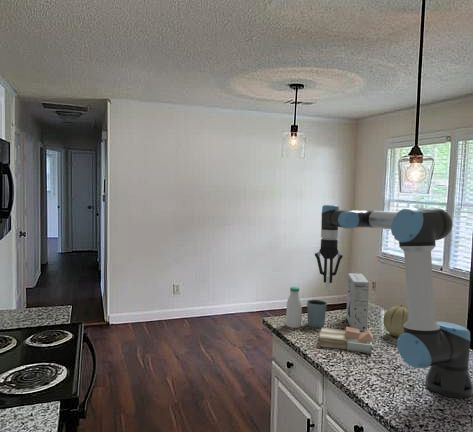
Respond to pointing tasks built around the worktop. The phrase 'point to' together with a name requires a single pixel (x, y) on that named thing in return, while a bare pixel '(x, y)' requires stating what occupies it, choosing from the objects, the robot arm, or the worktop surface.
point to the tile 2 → (365, 337)
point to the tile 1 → (352, 333)
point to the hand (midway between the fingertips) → (327, 289)
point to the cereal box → (357, 301)
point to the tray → (359, 345)
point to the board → (333, 338)
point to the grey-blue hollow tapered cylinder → (316, 312)
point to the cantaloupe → (395, 320)
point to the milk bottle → (294, 309)
